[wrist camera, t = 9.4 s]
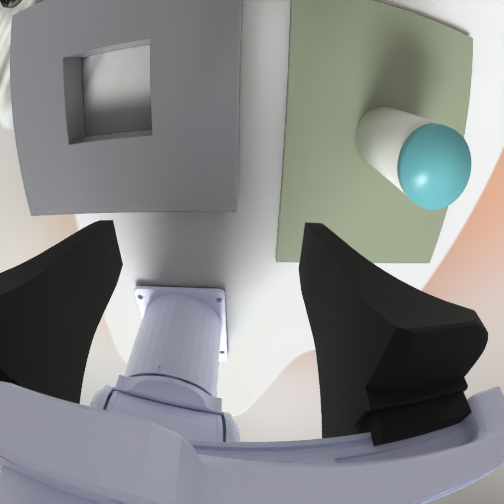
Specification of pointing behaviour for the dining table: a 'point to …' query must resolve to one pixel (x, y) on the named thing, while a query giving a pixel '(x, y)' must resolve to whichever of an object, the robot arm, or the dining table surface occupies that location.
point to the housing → (162, 107)
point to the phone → (10, 3)
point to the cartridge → (415, 155)
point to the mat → (349, 114)
